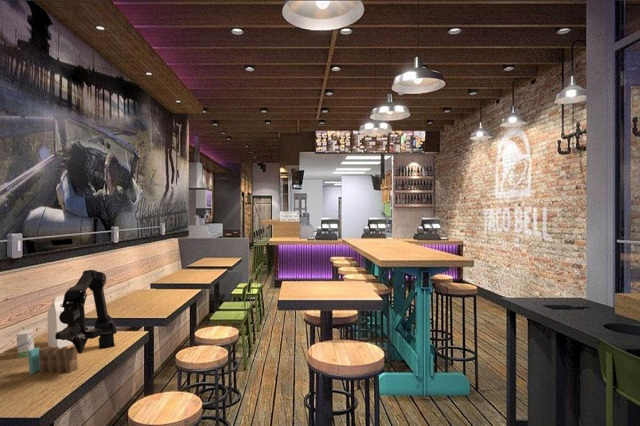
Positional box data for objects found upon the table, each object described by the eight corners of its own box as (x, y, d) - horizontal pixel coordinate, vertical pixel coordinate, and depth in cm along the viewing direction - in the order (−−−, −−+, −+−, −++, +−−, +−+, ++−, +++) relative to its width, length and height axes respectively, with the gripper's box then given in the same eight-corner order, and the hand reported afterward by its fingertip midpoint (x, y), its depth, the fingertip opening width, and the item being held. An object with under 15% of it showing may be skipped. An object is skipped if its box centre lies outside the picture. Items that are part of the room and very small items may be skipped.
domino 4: (58, 372, 180) (56, 349, 180) (65, 368, 184) (64, 346, 184) (61, 372, 180) (59, 349, 179) (69, 368, 184) (67, 346, 184)
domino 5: (67, 372, 179) (65, 349, 179) (74, 368, 183) (72, 346, 183) (70, 372, 179) (68, 349, 179) (77, 368, 183) (76, 346, 183)
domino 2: (40, 372, 181) (38, 350, 181) (48, 368, 186) (46, 346, 186) (43, 372, 181) (41, 350, 181) (51, 368, 185) (50, 346, 185)
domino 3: (49, 372, 181) (47, 350, 181) (57, 368, 185) (55, 346, 185) (52, 372, 180) (50, 350, 180) (60, 368, 185) (58, 346, 185)
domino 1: (29, 373, 181) (27, 351, 181) (38, 369, 185) (36, 347, 185) (33, 373, 181) (31, 351, 181) (41, 369, 185) (39, 347, 185)
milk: (71, 339, 231) (68, 292, 231) (81, 341, 225) (78, 294, 224) (48, 345, 222) (44, 297, 221) (57, 348, 215) (53, 298, 215)
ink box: (29, 356, 205) (27, 332, 205) (17, 358, 204) (15, 334, 204) (35, 351, 213) (33, 328, 213) (23, 353, 212) (22, 330, 212)
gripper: (43, 323, 174) (46, 360, 174) (82, 322, 171) (85, 360, 171) (64, 316, 185) (66, 351, 185) (101, 315, 182) (104, 350, 182)
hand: (80, 353), depth 180 cm, fingers closed
